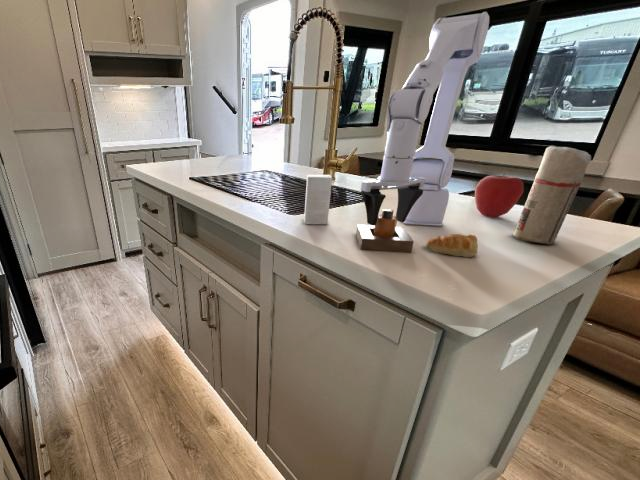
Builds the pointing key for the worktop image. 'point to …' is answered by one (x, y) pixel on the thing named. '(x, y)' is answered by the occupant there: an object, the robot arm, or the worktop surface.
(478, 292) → the worktop surface
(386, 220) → the bottle
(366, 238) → the holder
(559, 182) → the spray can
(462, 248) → the pastry
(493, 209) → the apple
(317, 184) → the cosmetic box
